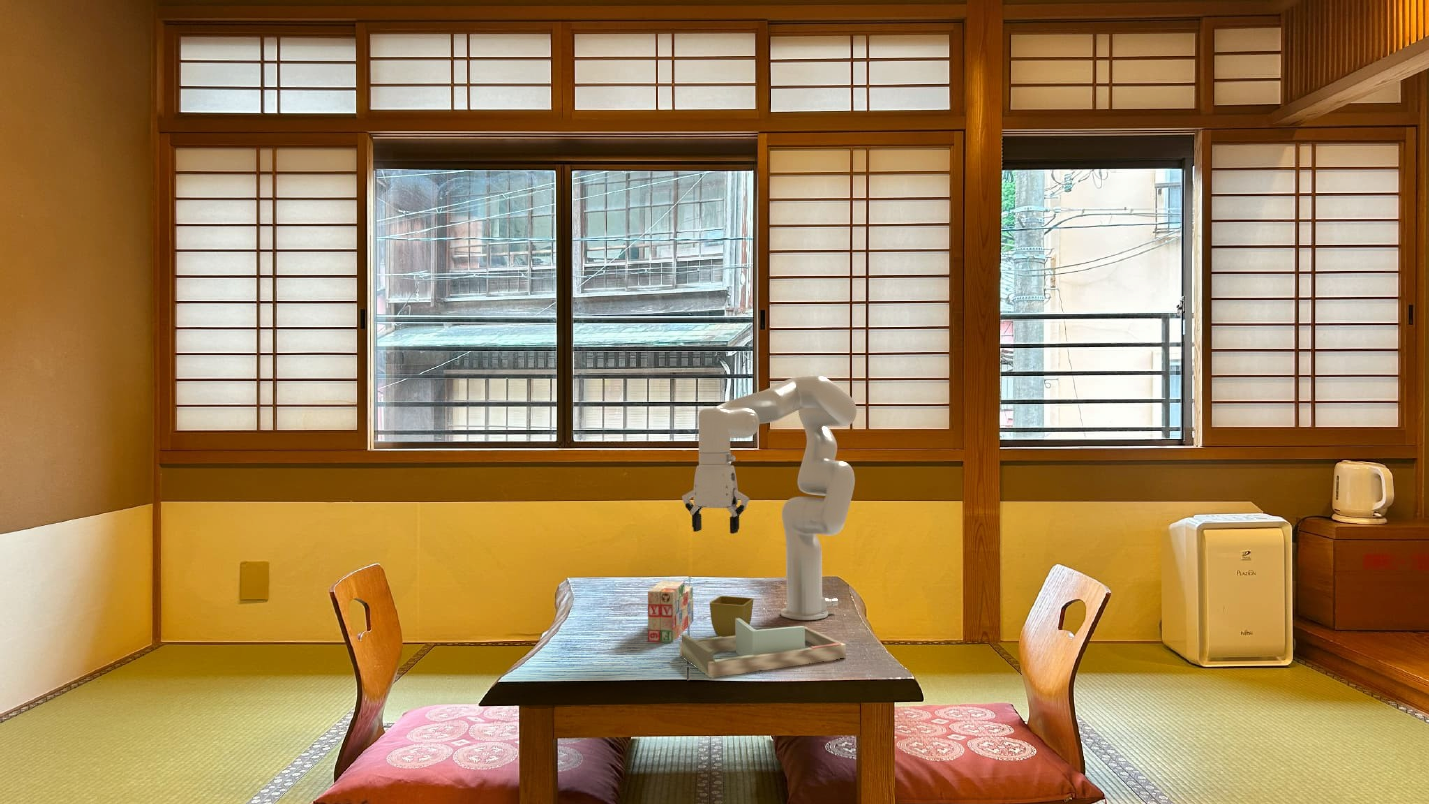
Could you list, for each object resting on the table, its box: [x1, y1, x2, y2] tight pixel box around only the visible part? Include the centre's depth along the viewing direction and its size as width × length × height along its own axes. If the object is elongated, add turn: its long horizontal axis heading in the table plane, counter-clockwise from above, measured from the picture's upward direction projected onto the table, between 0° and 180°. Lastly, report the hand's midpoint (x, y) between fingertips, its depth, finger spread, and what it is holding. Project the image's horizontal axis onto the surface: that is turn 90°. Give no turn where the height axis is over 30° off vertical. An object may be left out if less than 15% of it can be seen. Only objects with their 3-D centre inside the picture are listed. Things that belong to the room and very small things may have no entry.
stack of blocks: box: [647, 580, 694, 643], centre depth 207 cm, size 21×6×12 cm, turn 168°
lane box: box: [679, 626, 847, 678], centre depth 183 cm, size 32×17×5 cm, turn 114°
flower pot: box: [709, 595, 754, 637], centre depth 200 cm, size 9×9×9 cm
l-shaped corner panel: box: [735, 618, 806, 656], centre depth 184 cm, size 12×12×8 cm
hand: (715, 531), depth 197 cm, fingers open, 9 cm apart
